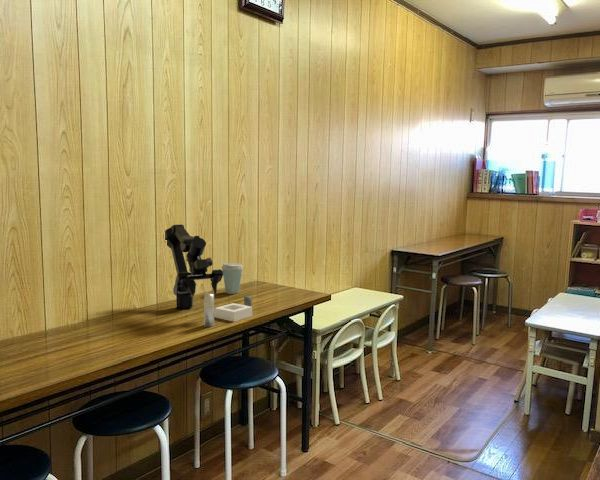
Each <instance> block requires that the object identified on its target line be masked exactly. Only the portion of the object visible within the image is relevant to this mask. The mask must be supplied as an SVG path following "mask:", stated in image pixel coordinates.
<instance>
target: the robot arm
mask: <svg viewBox="0 0 600 480" xmlns="http://www.w3.org/2000/svg"><path fill="white" fill-rule="evenodd" d="M164 232H165V240H167V245H166V246H167V247H168V248H169V249H170V250H171V253H172V258H173V261H174V266H175V270H176V274H177V275H176V277H175V282H174V285H173V288H172V291H173V295H174V296H176V306H175V309H176V310H190V309H191V308H193V306H194V296H195V293H196V287H197V283H196V281H199V280H210V284H211V285H210V286H211V288H212V291H213V294H214V295H216V294H217V291H218V284H219V282H221V281H222V279H223V278H224V277H223V270H222V268H220V269H212V270H211V273H207V272H208V268H210V267H211V266H213V260H212V257H207V258H202V256H203V255H204V251H205V249H206V245H207V242H206V241H205V239H203V237H200V235H195V236H192V235H190V234H189V232H188V231H187V229H186V228H185V225H184V224H172V225H171V226H170V227H169V228H166V230H164ZM165 240H164V241H165ZM184 253H186V255H185V256H184ZM185 257H186V259H185ZM186 262H187V263H186ZM187 264H188V267H189V269H188V267H187ZM188 270H189V271H188Z"/></svg>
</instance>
